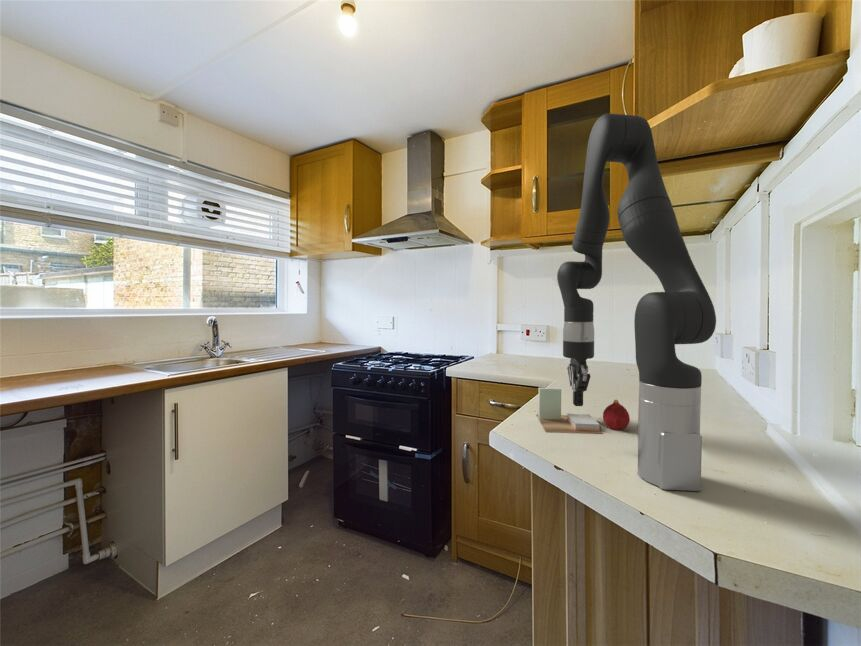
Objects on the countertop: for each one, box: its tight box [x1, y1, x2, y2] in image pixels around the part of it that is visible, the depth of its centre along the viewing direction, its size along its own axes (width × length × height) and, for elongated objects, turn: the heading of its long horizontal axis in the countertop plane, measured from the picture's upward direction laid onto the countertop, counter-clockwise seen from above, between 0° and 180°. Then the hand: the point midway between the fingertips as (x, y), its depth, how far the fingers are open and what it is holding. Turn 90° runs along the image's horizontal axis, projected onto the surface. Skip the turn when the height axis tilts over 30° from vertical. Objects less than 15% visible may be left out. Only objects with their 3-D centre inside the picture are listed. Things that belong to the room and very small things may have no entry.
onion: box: [602, 399, 631, 431], centre depth 89 cm, size 6×6×8 cm
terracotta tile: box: [566, 413, 601, 431], centre depth 91 cm, size 2×6×8 cm
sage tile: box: [537, 387, 562, 420], centre depth 97 cm, size 2×6×8 cm, turn 83°
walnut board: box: [535, 414, 604, 435], centre depth 93 cm, size 14×13×1 cm
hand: (577, 405), depth 96 cm, fingers closed
